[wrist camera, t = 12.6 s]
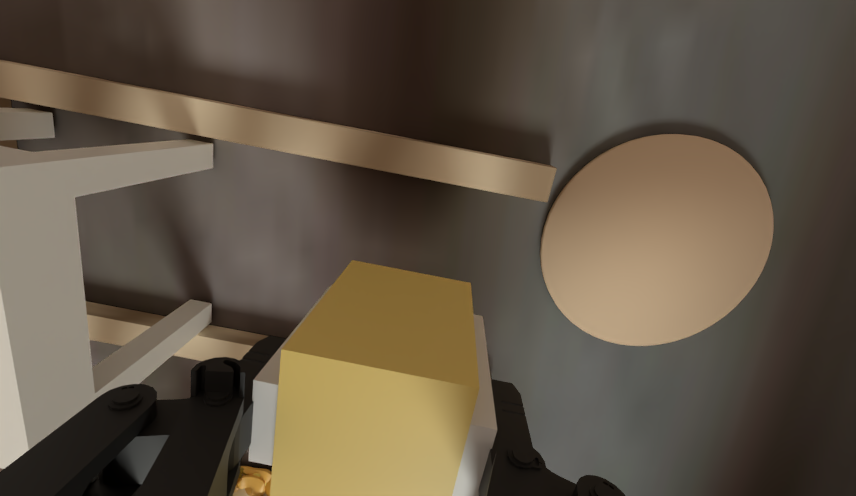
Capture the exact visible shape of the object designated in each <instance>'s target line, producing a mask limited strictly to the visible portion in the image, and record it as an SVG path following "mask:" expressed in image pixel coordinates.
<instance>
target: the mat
mask: <svg viewBox="0 0 856 496" xmlns="http://www.w3.org/2000/svg"><path fill="white" fill-rule="evenodd" d="M773 229H774V224H773V210H772V205H771V200H770V197H769V195H768V192H767V189H766V187H765V185H764V183H763V181H762V179H761V178H760V176H759V174H758V173H757V172H756V171H755V169H754V168H753V167H752V166H751V164H750V163H748V162H747V161H746V160H745V159H744V158H743V157H742V156H741V155H739V154H738V153H736V152H735V151H733V150H732V149H730V148H728V147H727V146H725V145H722V144H720V143H718V142H715V141H713V140H710V139H706V138H702V137H699V136H691V135H683V134H659V135H652V136H645V137H641V138H638V139H634V140H630V141H627V142H625V143H623V144H620V145H618V146H615V147H613V148H611V149H609V150H608V151H606V152H604V153H602V154H600V155H599V156H597V157H596V158H594V159H593V160H592V161H590V162H589V163H587V164H586V165H585V166H584V167H583V168H582V169H581V170H579V171H578V172H577V173H576V174H575V175H574V176H573V177H572V178H571V180H570V181H569V182H568V183H567V184H566V185H565V186H564V188H563V189H562V191H561V192H560V194H559V195H558V197H557V198H556V200H555V202H554V204H553V205H552V207H551V209H550V211H549V214H548V216H547V219H546V222H545V225H544V228H543V233H542V238H541V247H540V260H541V269H542V274H543V278H544V281H545V284H546V286H547V289H548V291H549V293H550V295H551V297H552V298H553V300H554V302H555V304H556V305H557V306H558V308H559V309H560V310H561V312H562V313H563V314H564V315H565V316H566V317H567V318H568V319H569V320H570V321H571V322H572V323H573V324H575V325H576V326H577V327H579V328H580V329H581V330H583V331H585V332H587V333H588V334H590V335H592V336H594V337H597V338H599V339H602V340H605V341H608V342H612V343H616V344H622V345H629V346H650V345H660V344H665V343H669V342H674V341H677V340H680V339H683V338H687V337H689V336H691V335H694V334H696V333H698V332H700V331H702V330H704V329H706V328H708V327H709V326H711V325H713V324H714V323H716V322H717V321H719V320H720V319H722V318H723V317H724V316H726V315H727V314H728V313H729V312H730V311H731V310H733V309H734V308H735V307H736V306H737V305H738V304H739V303H740V302H741V301H742V300H743V298H744V297H745V296H746V295H747V294H748V292H749V291H750V290H751V288H752V287H753V286H754V284H755V283H756V281H757V279H758V278H759V276H760V274H761V272H762V270H763V268H764V266H765V263H766V261H767V258H768V256H769V252H770V248H771V244H772V238H773Z"/></svg>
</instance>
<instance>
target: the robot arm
mask: <svg viewBox="0 0 856 496" xmlns="http://www.w3.org/2000/svg"><path fill="white" fill-rule="evenodd" d="M330 288H331V286H329V287H328V288H327V290H326V291H325V292H324V293H323V295H322V296H321V297H320V298H319V300H318V301H317V302H316V303H315V305H314V306H313V307H312V308H311V309H310V311H309V312H308V313H307V314H306V316H305V317H304V318H303V319H302V321H301V322H300V323H299V324H298V326H297V327H296V328H295V329H294V330H293V332H292V333H291V334H290V335H289V337H288V338H287V339H285V338H280V337H275V336H268V337H266V338H264V339H262V340H260V341H258V342H256V344H255V345H254V346H253V347H252V348H251V349H250V350H249V352H247V353H246V354H245V355H244V356H243V357H242V360H240V361H239V360H237V359H235V358H229V357H216V358H212V359H208V360H205V361H203V362H201V363H199V364H197V365H196V366H195V367H194V368H193V369H192V370H191V397H190V398H188V399H177V400H157V392H156V391H155V390H154V388H153V387H150V386H147V385H144V384H130V385H123V386H120V387H117V388H114V389H111V390H109V391H107V392H106V393H104V394H102V395H100V396H99V397H98V398H96V399H95V400H94V401H92V402H91V403H90V404H89V405H87V406H86V407H85V408H83V409H82V410H81V411H79V412H78V413H77V414H75V415H74V416H73V417H72V418H70V419H69V420H68V421H66V422H65V423H64V424H62V425H61V426H60V427H58V428H57V429H56V430H54V431H53V432H52V433H51V434H49V435H48V436H47V437H45V438H44V439H43V440H41V441H40V442H39V443H37V444H36V445H35V446H34V447H32V448H31V449H30V450H28V451H27V452H26V453H24V454H23V455H22V456H20V457H19V458H18V459H17V460H15V461H14V462H13V463H11V464H10V465H9V466H7V467H6V468H5V469H3V470H2V471H1V472H0V496H233V493H234V490H235V487H236V484H237V480H238V477H239V474H240V462H241V458H242V456H243V455H244V453H245V452H246V450H247V449H248V447H249V459H248V461H251V462H256V463H261V464H265V465H270V466H272V462H273V449H274V436H275V423H276V410H277V397H278V384H279V371H280V358H281V349H282V348H283V346H284V345H285V344H286V343H287V341H288V340H289V339H290V338H291V336H292V335H293V334H294V333H295V331H296V330H297V329H298V328H299V326H300V325H301V324H302V323H303V321H304V320H305V319H306V318H307V316H308V315H309V314H310V313H311V311H312V310H313V309H314V308H315V306H316V305H317V304H318V303H319V301H320V300H321V299H322V298H323V296H324V295H325V294H326V293H327V291H328V290H329V289H330ZM473 316H474V328H475V340H476V352H477V364H478V376H479V392H478V396H477V400H476V404H475V408H474V412H473V416H472V420H471V424H470V428H469V432H468V435H467V439H466V443H465V447H464V451H463V455H462V459H461V463H460V467H459V471H458V475H457V479H456V482H455V486H454V490H453V494H452V496H478V495H479V496H625V495H624V493H623V492H622V491H621V490H620V489H618V488H617V487H616V486H615V485H614V484H612V483H611V482H609V481H607V480H606V479H603V478H601V477H598V476H593V475H586V476H583V477H581V478H580V479H579V480H578V482H577V484H575V483H572V482H570V481H568V480H566V479H564V478H562V477H560V476H558V475H556V474H554V473H553V472H551V471H550V470H548V469H547V468H546V466H545V461H544V460H543V458H542V457H541V455H540V454H539V453H538V452H537V451H536V450H535V449H534V448H533V446H532V442H531V438H530V433H529V429H528V425H527V421H526V416H525V412H524V408H523V403H522V399H521V395H520V393H519V392H518V390H517V389H516V388H515V386H514V385H513V384H512V383H507V382H502V381H497V380H492V379H491V377H490V369H489V362H488V354H487V346H486V339H485V331H484V323H483V316H479V315H474V314H473Z"/></svg>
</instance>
